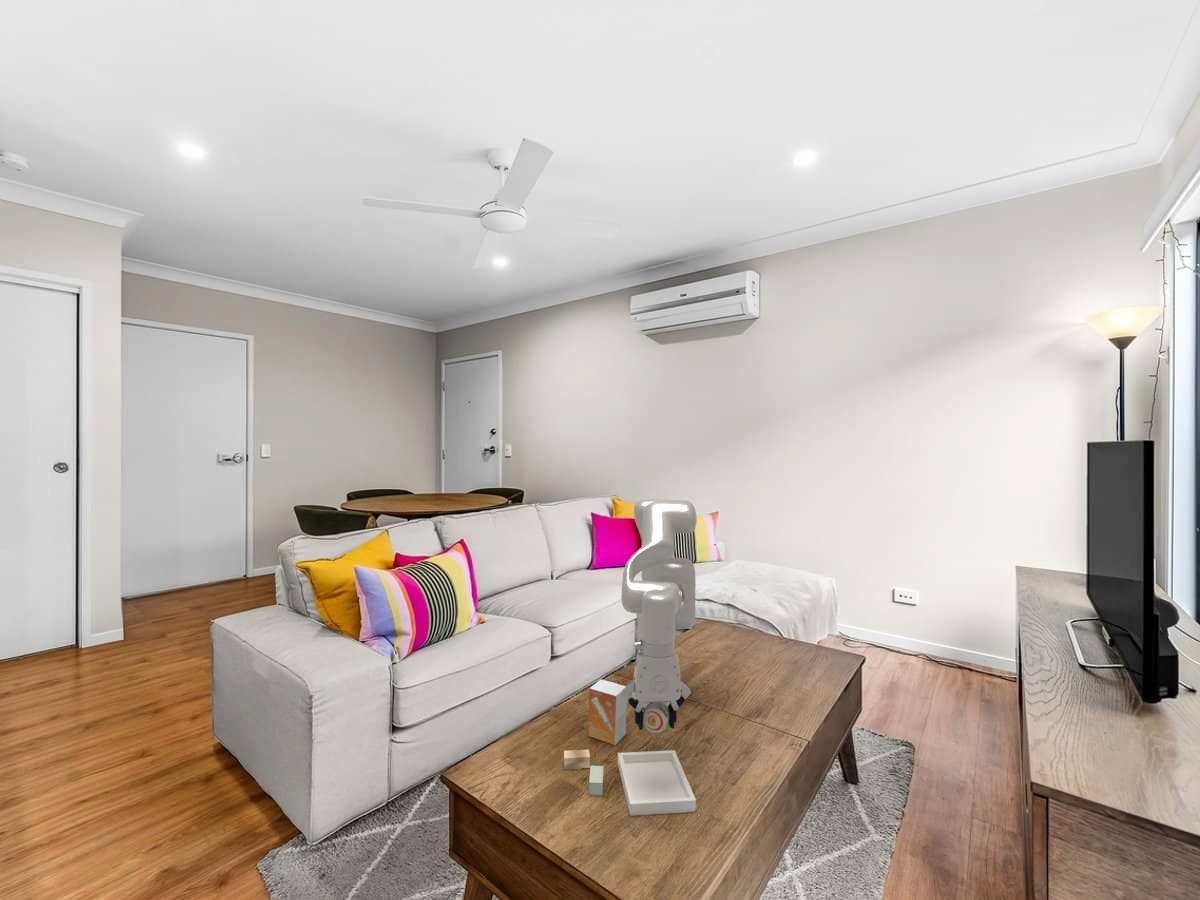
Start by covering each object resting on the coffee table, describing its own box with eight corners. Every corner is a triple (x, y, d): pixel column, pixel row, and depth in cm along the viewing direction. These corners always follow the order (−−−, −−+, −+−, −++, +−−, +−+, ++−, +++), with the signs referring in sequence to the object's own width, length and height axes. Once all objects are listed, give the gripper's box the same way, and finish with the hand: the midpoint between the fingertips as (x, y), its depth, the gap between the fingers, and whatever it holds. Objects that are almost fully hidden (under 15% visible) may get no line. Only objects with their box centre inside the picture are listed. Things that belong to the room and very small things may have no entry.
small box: (587, 737, 141) (588, 687, 141) (599, 725, 147) (600, 678, 146) (615, 746, 137) (616, 695, 137) (626, 734, 143) (627, 685, 142)
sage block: (590, 778, 125) (590, 765, 125) (603, 778, 125) (603, 766, 125) (588, 795, 119) (589, 782, 119) (602, 796, 119) (602, 782, 118)
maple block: (564, 770, 127) (564, 758, 127) (563, 762, 130) (564, 750, 130) (589, 769, 128) (590, 757, 128) (588, 761, 131) (588, 749, 131)
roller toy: (666, 737, 118) (666, 711, 118) (638, 731, 121) (638, 706, 120) (671, 727, 122) (671, 702, 122) (644, 721, 125) (644, 697, 125)
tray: (617, 763, 130) (617, 752, 130) (674, 760, 132) (674, 750, 132) (630, 815, 112) (630, 804, 112) (695, 811, 114) (696, 800, 114)
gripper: (621, 654, 116) (619, 736, 117) (699, 652, 118) (697, 733, 119) (616, 641, 124) (614, 718, 124) (690, 639, 126) (688, 715, 126)
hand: (655, 725), depth 122 cm, fingers closed on roller toy, 6 cm apart
